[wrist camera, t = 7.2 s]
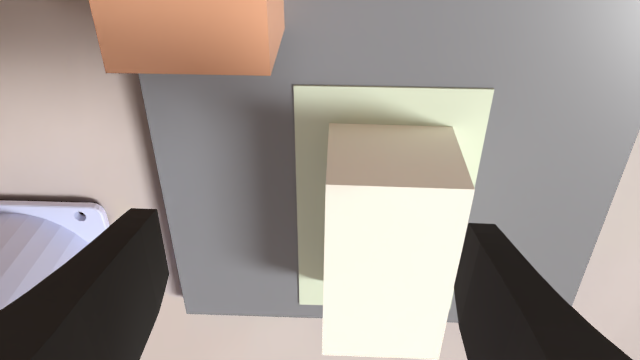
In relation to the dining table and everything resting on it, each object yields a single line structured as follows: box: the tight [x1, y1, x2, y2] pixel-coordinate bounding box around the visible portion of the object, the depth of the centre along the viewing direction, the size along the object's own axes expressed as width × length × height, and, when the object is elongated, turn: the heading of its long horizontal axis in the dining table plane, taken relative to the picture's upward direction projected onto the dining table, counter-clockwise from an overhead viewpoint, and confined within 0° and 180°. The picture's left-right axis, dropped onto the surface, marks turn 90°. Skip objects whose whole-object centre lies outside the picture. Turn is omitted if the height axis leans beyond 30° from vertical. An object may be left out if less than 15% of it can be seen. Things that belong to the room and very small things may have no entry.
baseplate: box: [138, 0, 640, 323], centre depth 19 cm, size 18×24×1 cm
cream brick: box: [322, 123, 475, 360], centre depth 20 cm, size 4×8×4 cm, turn 179°
